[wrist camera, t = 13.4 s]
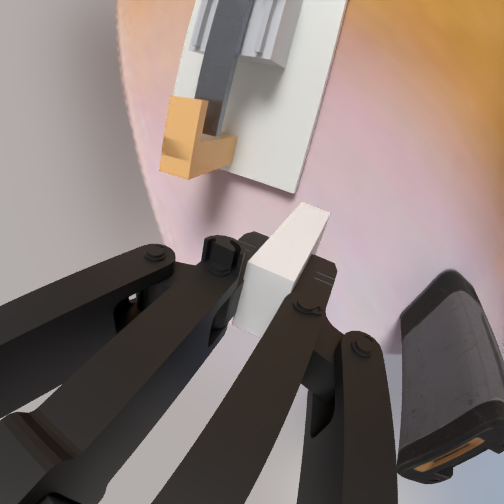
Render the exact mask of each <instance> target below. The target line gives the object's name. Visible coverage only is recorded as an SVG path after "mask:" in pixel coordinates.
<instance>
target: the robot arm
mask: <svg viewBox="0 0 504 504" xmlns="http://www.w3.org/2000/svg"><path fill="white" fill-rule="evenodd" d="M329 216H330V212H327V211H325V210H322V209H319V208H317V207H314V206H312V205H309V204H307V203H304V202H301V203H300V205H299V206H298V207H297V208H296V209H295V210H294V211H293V212H292V213H291V215H290V216H289V217H288V218H287V219H286V220H285V221H284V222H283V223H282V224H281V226H280V227H279V228H278V229H277V230H276V231H275V232H274V233H273V234H272V236H271V237H267V236H265V235H262V234H260V233H257V232H255V231H254V232H250V233H247V234H244V235H243V236H242V237H241V238H240V239H239V240H236V239H234V238H231V237H227V236H221V235H215V236H209V237H207V238H205V239H204V246H203V252H202V259H201V262H199V263H198V264H197V265H189V264H185V263H180V262H176V261H175V253H174V251H173V250H172V249H171V248H169V247H167V246H165V245H161V244H148V245H144V246H141V247H139V248H136V249H134V250H131V251H128V252H126V253H123V254H121V255H118V256H116V257H113V258H110V259H108V260H106V261H103V262H101V263H98V264H96V265H93V266H91V267H88V268H86V269H84V270H81V271H79V272H76V273H74V274H71V275H69V276H67V277H64V278H62V279H60V280H58V281H55V282H53V283H50V284H48V285H46V286H44V287H41V288H39V289H37V290H35V291H32V292H30V293H28V294H25V295H23V296H21V297H19V298H17V299H14V300H12V301H10V302H8V303H6V304H4V305H2V306H0V418H2V417H4V416H5V415H7V414H9V413H11V412H13V411H15V410H17V409H18V408H20V407H22V406H24V405H26V404H27V403H29V402H31V401H33V400H35V399H36V398H38V397H40V396H42V395H44V394H45V393H47V392H49V391H51V390H52V389H54V388H56V387H58V386H59V385H61V384H62V385H61V386H60V387H59V388H58V389H57V390H56V391H55V392H54V393H53V394H52V395H51V396H50V397H49V398H48V399H47V400H46V401H45V402H44V403H42V404H41V405H40V406H39V407H38V408H37V409H36V410H34V411H32V412H30V413H25V412H15V413H12V414H9V415H7V416H6V417H4V418H3V419H1V420H0V504H98V503H99V502H100V500H101V499H102V498H103V496H104V494H105V491H106V487H107V485H108V483H109V482H110V480H111V479H112V478H113V477H114V475H115V474H116V473H117V472H118V470H119V469H120V468H121V467H122V466H123V464H124V463H125V462H126V461H127V459H128V458H129V457H130V456H131V455H132V453H133V452H134V451H135V450H136V448H137V447H138V446H139V445H140V443H141V442H142V441H143V440H144V438H145V437H146V436H147V435H148V433H149V432H150V431H151V430H152V428H153V427H154V426H155V424H156V423H157V422H158V421H159V419H160V418H161V417H162V416H163V414H164V413H165V412H166V410H167V409H168V408H169V407H170V405H171V404H172V403H173V402H174V400H175V399H176V398H177V396H178V395H179V394H180V393H181V391H182V390H183V389H184V387H185V386H186V385H187V383H188V382H189V381H190V379H191V378H192V377H193V376H194V374H195V373H196V372H197V370H198V369H199V368H200V366H201V365H202V364H203V362H204V361H205V360H206V358H207V357H208V356H209V354H210V353H211V352H212V350H213V349H214V348H215V346H216V345H217V344H218V342H219V341H220V340H221V338H222V337H223V336H224V334H225V332H226V329H227V325H228V322H229V321H230V320H231V318H232V317H233V316H234V318H233V321H232V325H234V326H236V327H238V328H240V329H242V330H244V331H246V332H248V333H250V334H253V335H255V336H257V337H259V338H261V340H260V341H259V343H258V344H257V346H256V348H255V349H254V351H253V353H252V354H251V356H250V358H249V359H248V361H247V362H246V364H245V366H244V367H243V369H242V371H241V372H240V374H239V375H238V377H237V379H236V380H235V382H234V383H233V385H232V387H231V388H230V390H229V391H228V393H227V394H226V396H225V398H224V399H223V401H222V402H221V404H220V405H219V407H218V408H217V410H216V412H215V413H214V415H213V416H212V418H211V419H210V421H209V422H208V424H207V425H206V427H205V428H204V430H203V431H202V433H201V434H200V436H199V437H198V439H197V440H196V442H195V443H194V444H193V446H192V447H191V449H190V450H189V452H188V453H187V455H186V456H185V458H184V459H183V460H182V462H181V463H180V465H179V466H178V467H177V469H176V470H175V472H174V473H173V475H172V476H171V477H170V479H169V480H168V481H167V483H166V484H165V486H164V487H163V489H162V490H161V491H160V492H159V494H158V495H157V496H156V498H155V499H154V500H153V502H152V503H151V504H244V503H245V501H246V499H247V497H248V496H249V494H250V492H251V490H252V488H253V486H254V484H255V482H256V480H257V478H258V476H259V475H260V472H261V471H262V468H263V467H264V465H265V463H266V460H267V458H268V456H269V454H270V452H271V450H272V448H273V446H274V444H275V441H276V439H277V437H278V435H279V433H280V431H281V428H282V426H283V424H284V422H285V419H286V417H287V415H288V412H289V410H290V408H291V405H292V403H293V401H294V398H295V396H296V393H297V391H298V388H299V386H300V383H301V384H302V385H304V386H305V387H306V388H308V389H309V390H308V396H307V412H306V424H305V435H304V445H303V456H302V466H301V473H300V482H299V490H298V498H297V504H398V490H397V489H398V488H397V465H396V451H395V439H394V429H393V420H392V411H391V403H390V396H389V389H388V382H387V376H386V371H385V364H384V359H383V353H382V350H381V347H380V345H379V344H378V343H377V341H376V340H375V339H374V338H373V337H371V336H370V335H368V334H366V333H363V332H361V331H350V332H347V333H346V334H345V335H344V334H342V333H341V332H340V331H338V330H337V329H336V328H335V327H333V326H332V324H331V323H330V322H329V321H328V319H327V317H326V312H325V311H326V306H327V303H328V300H329V297H330V294H331V290H332V287H333V284H334V281H335V278H336V274H337V269H336V266H335V263H333V262H330V261H328V260H326V259H323V258H321V257H318V256H316V255H315V254H316V251H317V248H318V246H319V243H320V240H321V238H322V235H323V232H324V230H325V227H326V224H327V222H328V219H329ZM135 293H136V298H135V299H132V300H129V296H131V295H133V294H135Z"/></svg>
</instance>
